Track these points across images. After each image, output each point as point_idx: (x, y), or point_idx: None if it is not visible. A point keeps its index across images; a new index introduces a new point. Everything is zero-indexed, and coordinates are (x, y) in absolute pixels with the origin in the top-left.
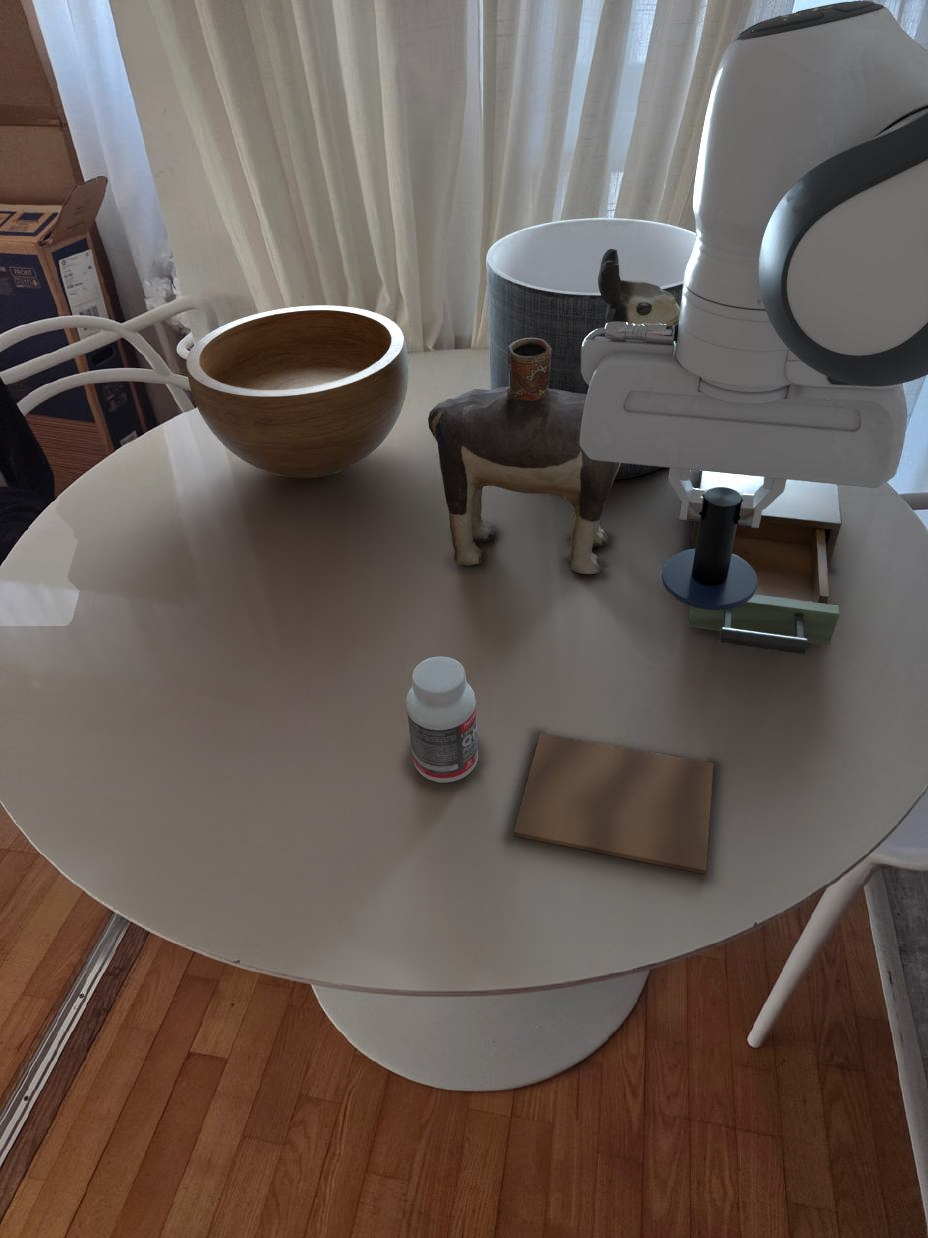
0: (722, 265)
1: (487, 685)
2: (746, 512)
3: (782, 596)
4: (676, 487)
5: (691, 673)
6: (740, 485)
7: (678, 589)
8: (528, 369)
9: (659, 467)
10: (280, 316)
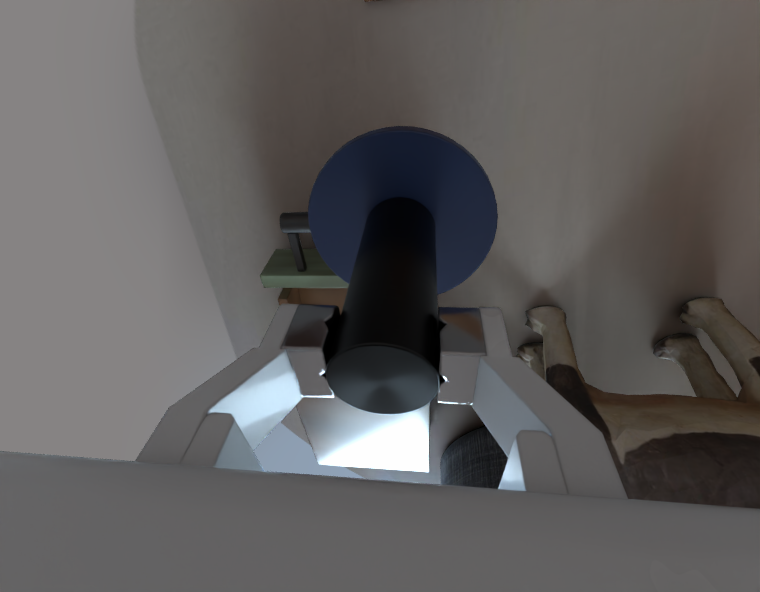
0: None
1: (714, 77)
2: (307, 336)
3: (331, 302)
4: (551, 399)
5: None
6: (389, 421)
7: (461, 169)
8: None
9: (466, 435)
10: None
